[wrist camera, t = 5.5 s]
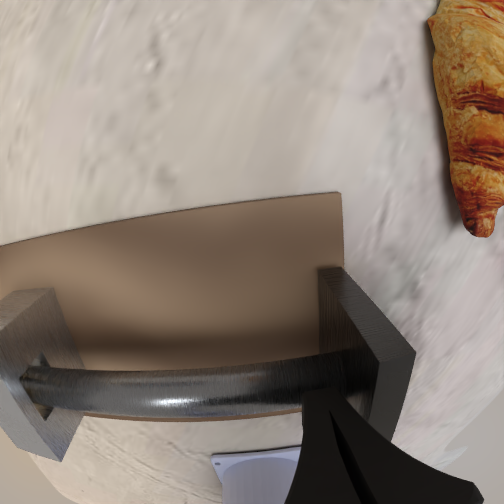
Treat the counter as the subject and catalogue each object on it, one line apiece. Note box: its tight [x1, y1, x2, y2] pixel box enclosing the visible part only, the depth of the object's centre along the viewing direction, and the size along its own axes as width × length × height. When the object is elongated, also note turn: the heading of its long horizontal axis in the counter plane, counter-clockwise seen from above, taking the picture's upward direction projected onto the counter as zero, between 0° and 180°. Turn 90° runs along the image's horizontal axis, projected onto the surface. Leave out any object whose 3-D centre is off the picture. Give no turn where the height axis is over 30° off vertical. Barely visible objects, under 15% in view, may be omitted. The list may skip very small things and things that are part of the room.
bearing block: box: [0, 287, 86, 462], centre depth 12 cm, size 8×4×7 cm, turn 7°
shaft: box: [19, 266, 416, 442], centre depth 12 cm, size 7×17×7 cm, turn 97°
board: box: [0, 192, 344, 422], centre depth 16 cm, size 14×27×1 cm, turn 97°
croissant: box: [427, 0, 504, 238], centre depth 10 cm, size 21×10×8 cm, turn 168°
